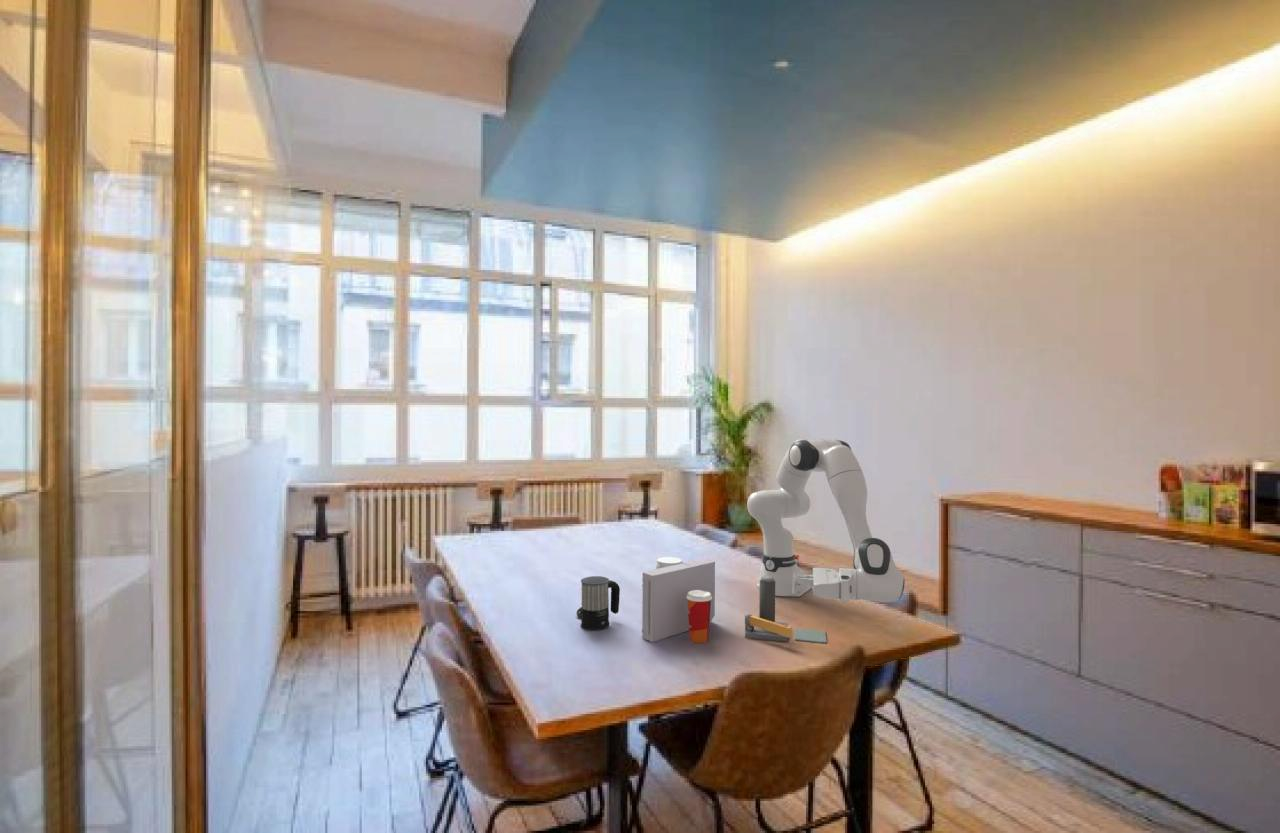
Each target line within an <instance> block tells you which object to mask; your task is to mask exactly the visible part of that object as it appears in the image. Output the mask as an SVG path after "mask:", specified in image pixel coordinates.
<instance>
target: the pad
mask: <svg viewBox="0 0 1280 833" xmlns="http://www.w3.org/2000/svg"><path fill="white" fill-rule="evenodd" d="M794 630H795V631H794V633H795V634H794V635H795V636H794V637H795V638H794V640H795V641H798V642H807V643H809V642H810V643H819V644H827V635H826V631H825V630H813V629H803V628H795V629H794Z"/></svg>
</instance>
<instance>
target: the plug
mask: <svg viewBox="0 0 1280 833" xmlns="http://www.w3.org/2000/svg"><path fill="white" fill-rule="evenodd" d="M758 603H759V604H758V605H759V609H758V610H759V613H758V615H759V617H758V618H762V619H765V620H768V621H772V622H776V596H775V581H774V578H773V577H770V576H762V577H761V580H760V590H759V602H758ZM753 632H759V633H769V634H777V633H774V632H771V631H767V630H764V629H761V628H758V627H755V626H753Z"/></svg>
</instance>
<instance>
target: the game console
mask: <svg viewBox="0 0 1280 833" xmlns="http://www.w3.org/2000/svg"><path fill="white" fill-rule="evenodd" d="M641 580H642V585H641V586H642V614H641V615H642V616H641V617H642V621H641V622H642V624H641V626H642V628H641V634H642V635H641V636H642V639H644V640H646V641H648V640H649V642H651V643H653V641H654V642H657V641H660V640H663V639H666V638H669V637H672V636H675V635H678V634H681V633H684V632H687V631H688V632H689V619H688V599H687V598H686V597H687V595H688V592H690V591H693V590H702V591H707V592H710V594H711V597H712V599H711V607H710V623H709V625H710V624H711V623H712V620H713V619H714V618H715V614H716V613H715V612H716V611H715V608H716V607H715V605H716V603H715V602H716V598H715V597H716V561H714V560H709V559H706V558H699V559H695V560H689V561H686V562H682V564H678V565H673V566H668V567H664V568H659V569H656V568H655V569H650V570H643V571H642V579H641ZM659 639H660V640H659Z"/></svg>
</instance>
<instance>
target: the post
mask: <svg viewBox="0 0 1280 833" xmlns="http://www.w3.org/2000/svg"><path fill="white" fill-rule="evenodd" d="M745 631H751V632H753V627H752V626H751V625H746V624H745V623H744V632H745Z"/></svg>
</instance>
